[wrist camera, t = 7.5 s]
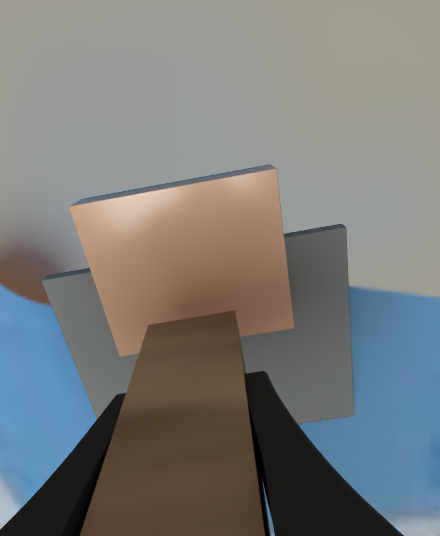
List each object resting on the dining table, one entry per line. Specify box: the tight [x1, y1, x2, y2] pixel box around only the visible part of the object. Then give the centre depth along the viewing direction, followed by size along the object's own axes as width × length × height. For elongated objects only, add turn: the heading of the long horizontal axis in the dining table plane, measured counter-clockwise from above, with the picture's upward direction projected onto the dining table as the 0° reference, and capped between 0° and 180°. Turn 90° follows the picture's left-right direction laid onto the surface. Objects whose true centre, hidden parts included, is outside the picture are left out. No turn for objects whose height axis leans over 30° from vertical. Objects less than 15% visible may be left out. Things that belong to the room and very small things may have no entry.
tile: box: [69, 165, 294, 357], centre depth 15 cm, size 2×8×7 cm
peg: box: [80, 311, 271, 536], centre depth 9 cm, size 3×3×9 cm
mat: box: [42, 224, 354, 424], centre depth 18 cm, size 11×14×1 cm
